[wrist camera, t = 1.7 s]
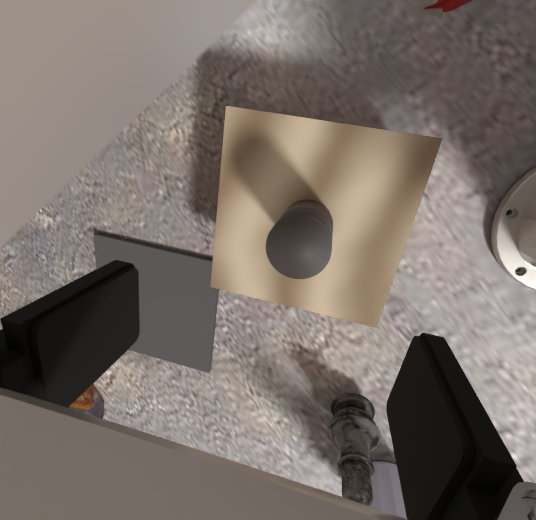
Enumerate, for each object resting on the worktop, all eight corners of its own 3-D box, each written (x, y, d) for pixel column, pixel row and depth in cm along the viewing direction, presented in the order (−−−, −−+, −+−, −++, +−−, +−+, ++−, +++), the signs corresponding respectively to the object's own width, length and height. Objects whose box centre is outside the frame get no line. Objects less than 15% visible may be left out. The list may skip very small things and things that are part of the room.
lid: (437, 138, 21) (483, 135, 14) (375, 321, 26) (387, 377, 20) (230, 107, 23) (188, 91, 16) (214, 282, 28) (178, 321, 22)
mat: (221, 261, 34) (219, 263, 34) (210, 369, 40) (208, 372, 40) (97, 233, 37) (93, 234, 36) (105, 339, 43) (102, 342, 42)
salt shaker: (322, 394, 38) (316, 496, 27) (370, 388, 36) (384, 494, 25) (336, 429, 39) (336, 539, 28) (382, 425, 38) (401, 540, 27)
